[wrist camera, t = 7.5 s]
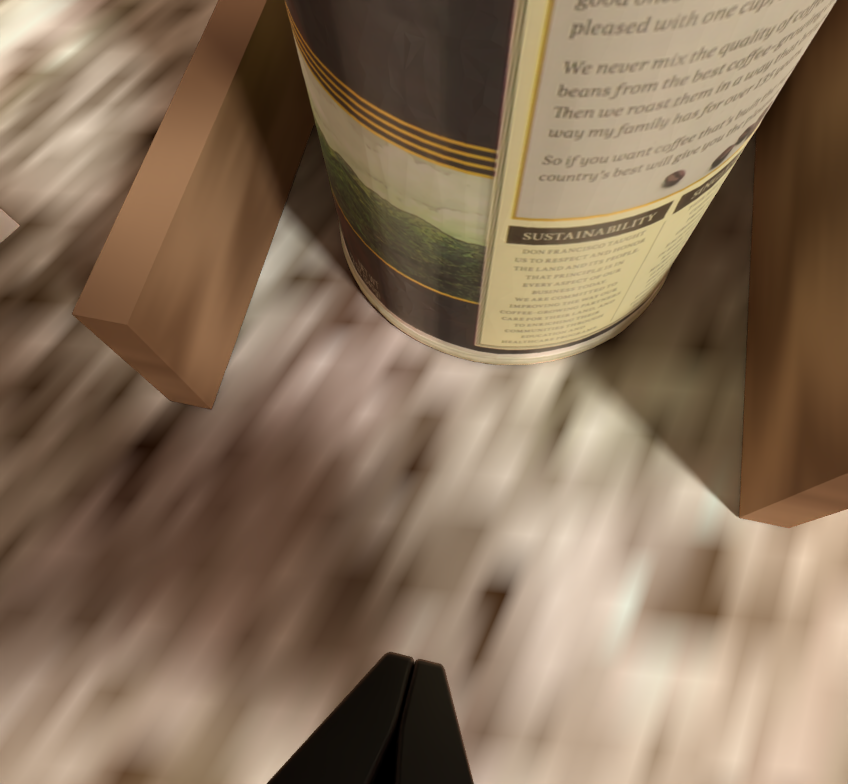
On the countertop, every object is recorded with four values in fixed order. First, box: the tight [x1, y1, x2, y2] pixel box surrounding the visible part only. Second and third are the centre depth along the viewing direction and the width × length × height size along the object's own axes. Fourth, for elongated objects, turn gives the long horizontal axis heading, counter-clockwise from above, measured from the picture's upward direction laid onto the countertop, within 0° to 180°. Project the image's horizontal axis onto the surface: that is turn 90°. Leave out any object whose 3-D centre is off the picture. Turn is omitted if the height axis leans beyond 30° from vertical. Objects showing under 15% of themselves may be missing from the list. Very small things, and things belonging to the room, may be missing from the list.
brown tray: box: [72, 0, 848, 528], centre depth 17 cm, size 14×16×5 cm
